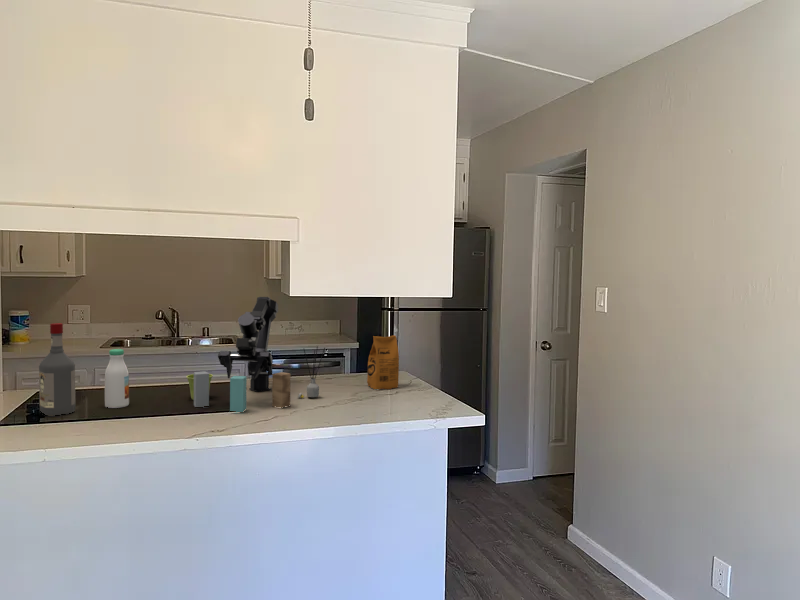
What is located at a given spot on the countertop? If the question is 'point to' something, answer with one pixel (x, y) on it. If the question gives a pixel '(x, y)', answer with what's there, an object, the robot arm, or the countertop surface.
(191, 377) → the plant pot
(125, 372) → the milk bottle
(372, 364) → the coffee package
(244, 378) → the teal block
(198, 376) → the slate block
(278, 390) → the walnut block
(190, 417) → the countertop surface
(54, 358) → the liquor
